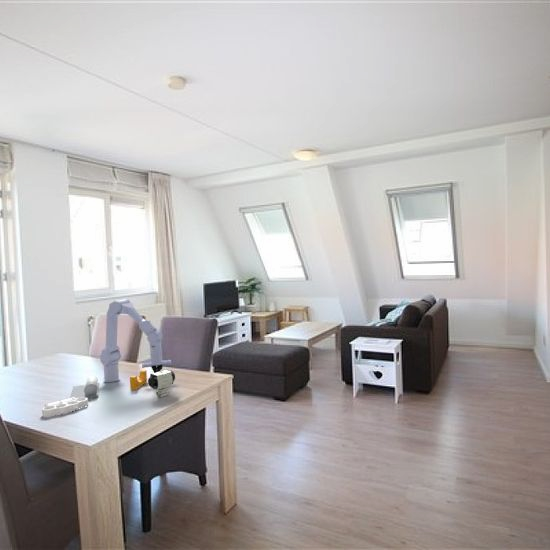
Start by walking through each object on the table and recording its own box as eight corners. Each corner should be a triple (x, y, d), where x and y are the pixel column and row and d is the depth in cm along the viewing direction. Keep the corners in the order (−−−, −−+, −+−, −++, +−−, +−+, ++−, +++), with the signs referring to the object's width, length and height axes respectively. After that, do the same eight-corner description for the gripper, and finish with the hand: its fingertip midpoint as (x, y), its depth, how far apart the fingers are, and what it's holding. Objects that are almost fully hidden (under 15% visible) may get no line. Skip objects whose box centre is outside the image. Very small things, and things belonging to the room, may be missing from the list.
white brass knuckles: (80, 401, 186) (92, 408, 176) (36, 412, 174) (47, 421, 163) (79, 393, 186) (92, 400, 176) (36, 404, 173) (46, 412, 163)
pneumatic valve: (148, 398, 185) (147, 372, 185) (170, 391, 194) (169, 366, 193) (155, 400, 181) (153, 374, 181) (177, 393, 190) (176, 368, 190)
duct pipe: (73, 388, 204) (72, 376, 204) (99, 384, 209) (98, 372, 208) (69, 402, 184) (68, 388, 183) (98, 397, 188) (97, 384, 188)
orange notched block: (139, 382, 211) (138, 370, 211) (146, 382, 210) (146, 370, 210) (127, 390, 199) (126, 377, 199) (135, 390, 198) (134, 377, 198)
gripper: (142, 357, 202) (143, 384, 202) (171, 353, 207) (172, 379, 208) (141, 354, 208) (142, 380, 209) (169, 350, 214) (171, 376, 214)
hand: (157, 379), depth 209 cm, fingers closed
